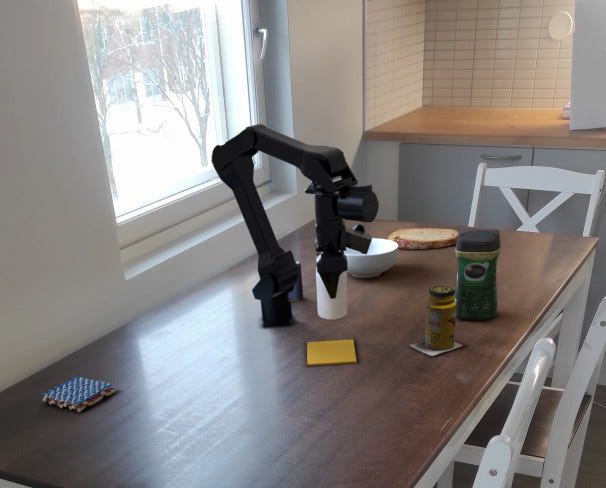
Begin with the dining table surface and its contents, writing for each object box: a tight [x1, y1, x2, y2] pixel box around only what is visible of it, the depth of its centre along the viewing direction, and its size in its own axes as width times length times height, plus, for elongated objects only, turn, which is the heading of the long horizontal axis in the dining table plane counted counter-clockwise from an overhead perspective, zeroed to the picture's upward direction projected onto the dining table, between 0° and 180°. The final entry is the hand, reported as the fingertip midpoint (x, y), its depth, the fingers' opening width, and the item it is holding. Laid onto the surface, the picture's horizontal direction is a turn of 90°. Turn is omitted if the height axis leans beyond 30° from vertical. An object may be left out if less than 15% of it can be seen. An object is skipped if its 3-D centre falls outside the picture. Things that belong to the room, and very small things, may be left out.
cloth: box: [306, 339, 358, 367], centre depth 169 cm, size 10×12×1 cm
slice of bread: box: [386, 227, 460, 251], centre depth 231 cm, size 18×18×4 cm
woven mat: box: [41, 376, 116, 413], centre depth 158 cm, size 10×11×2 cm
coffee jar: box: [455, 228, 502, 321], centre depth 177 cm, size 10×8×19 cm
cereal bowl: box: [344, 237, 399, 279], centre depth 210 cm, size 17×17×7 cm
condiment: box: [409, 284, 464, 357], centre depth 165 cm, size 7×8×12 cm
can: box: [315, 266, 348, 321], centre depth 172 cm, size 6×6×12 cm
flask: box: [288, 260, 304, 302], centre depth 197 cm, size 9×3×11 cm, turn 71°
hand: (332, 293), depth 173 cm, fingers closed on can, 6 cm apart
